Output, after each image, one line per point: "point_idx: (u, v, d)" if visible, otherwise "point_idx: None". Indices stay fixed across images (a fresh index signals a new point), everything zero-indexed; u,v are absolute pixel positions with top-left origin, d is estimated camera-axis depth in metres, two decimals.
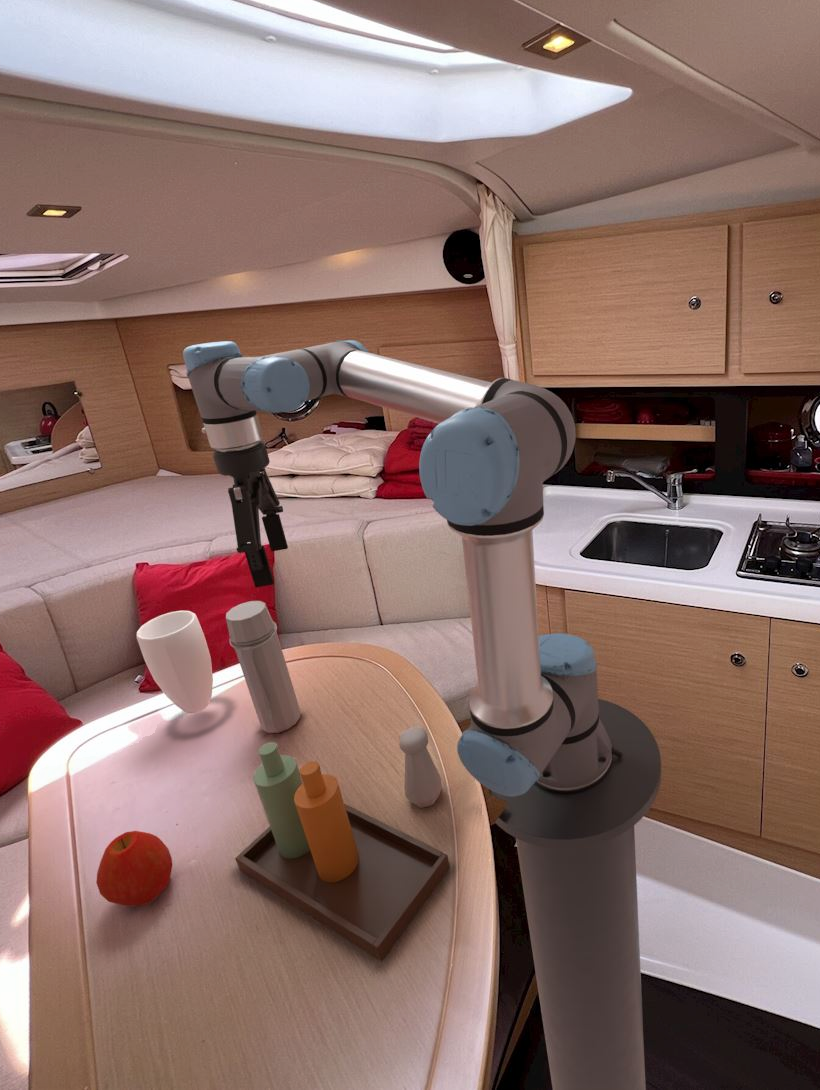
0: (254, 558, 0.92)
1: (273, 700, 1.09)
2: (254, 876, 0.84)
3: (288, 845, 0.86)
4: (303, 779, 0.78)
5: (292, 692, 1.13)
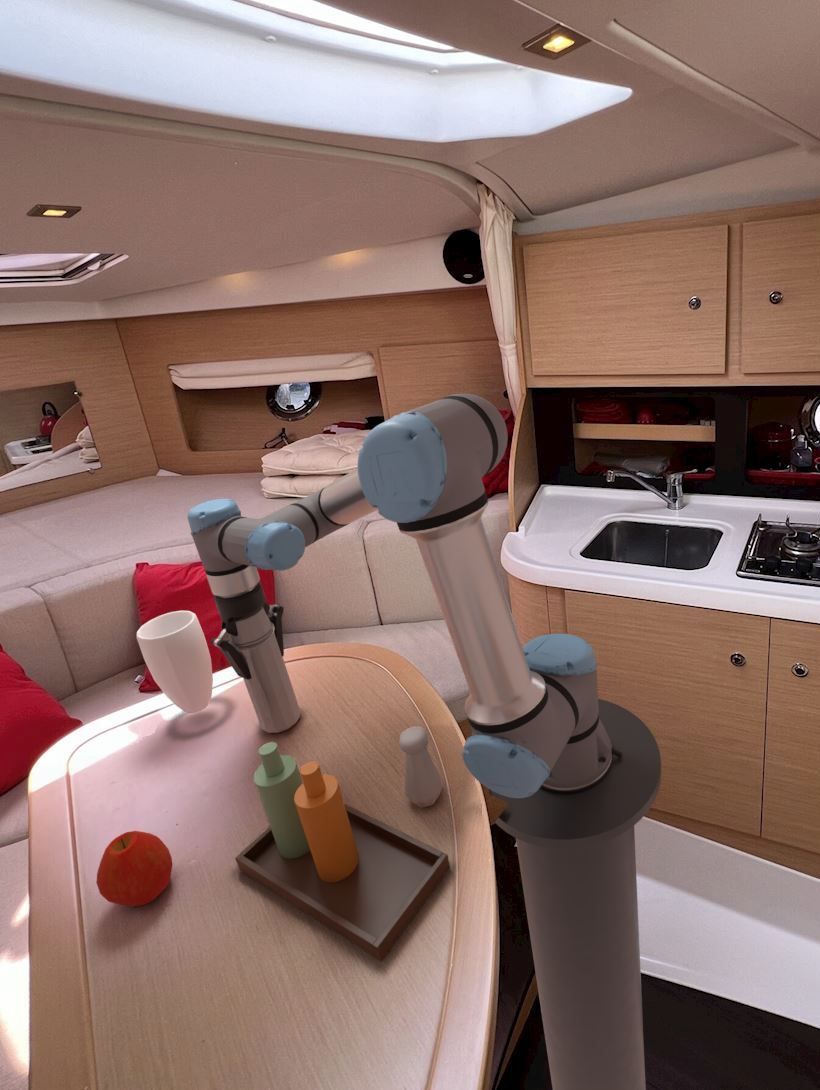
0: None
1: (273, 700, 1.09)
2: (254, 876, 0.84)
3: (288, 845, 0.86)
4: (303, 779, 0.78)
5: (291, 692, 1.13)
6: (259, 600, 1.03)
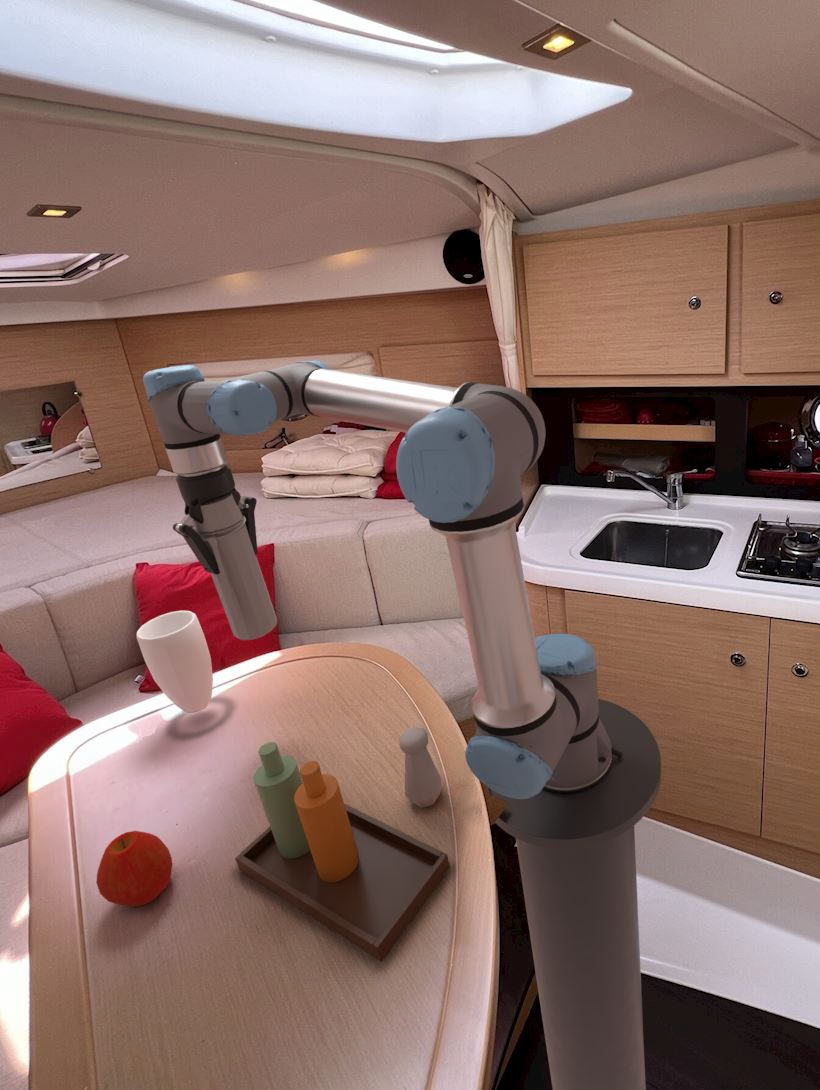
0: None
1: (244, 601, 0.99)
2: (254, 876, 0.84)
3: (288, 845, 0.86)
4: (303, 779, 0.78)
5: (266, 595, 1.02)
6: (227, 483, 0.93)
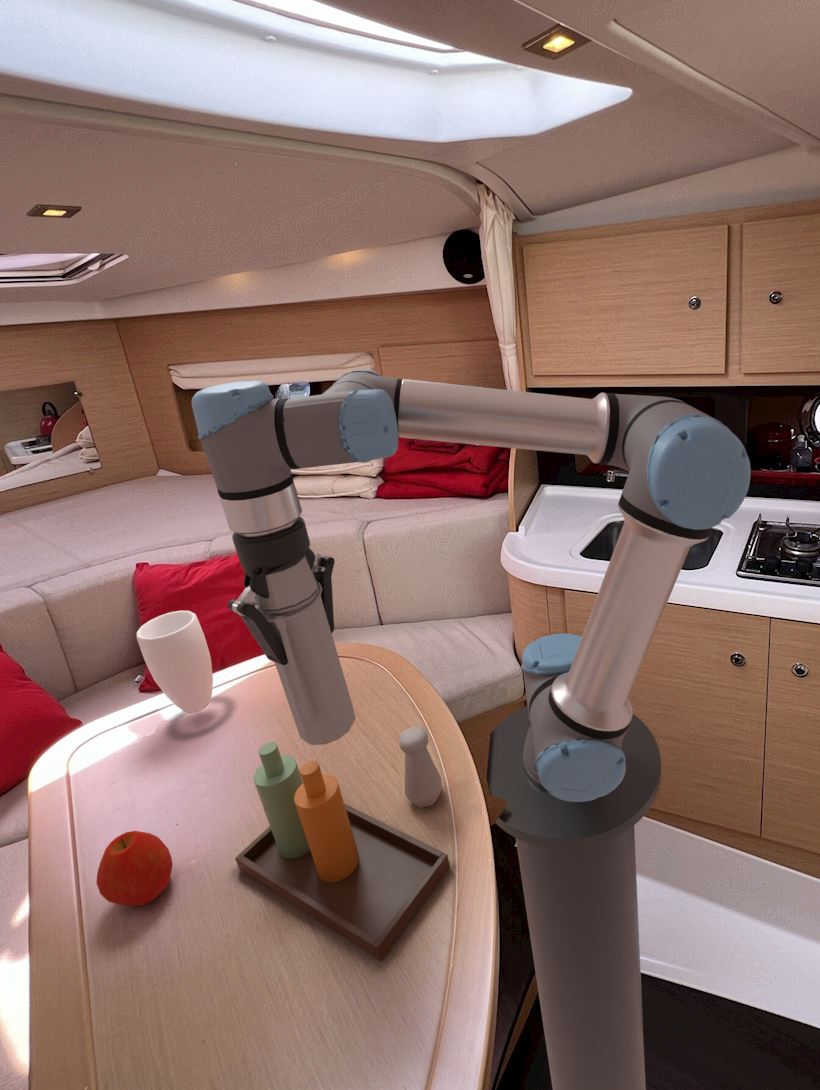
0: None
1: (318, 697, 0.73)
2: (254, 876, 0.84)
3: (288, 845, 0.86)
4: (303, 779, 0.78)
5: (344, 685, 0.77)
6: (301, 543, 0.67)
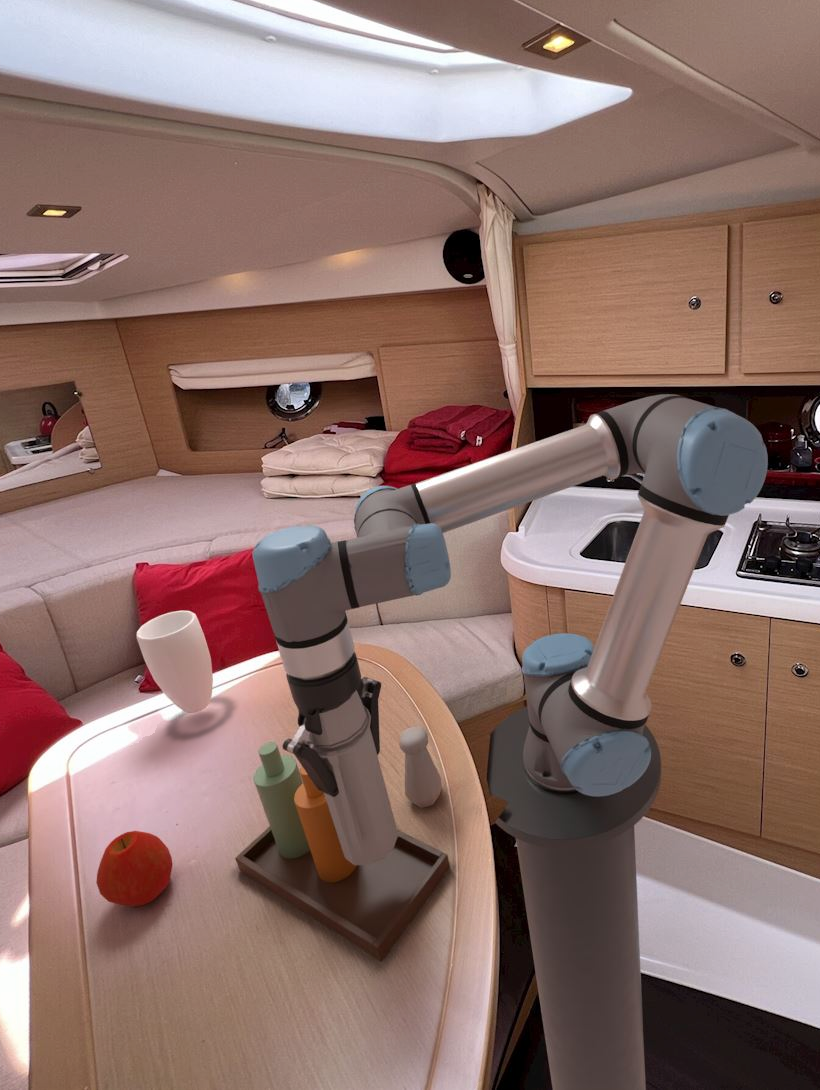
0: None
1: (366, 822, 0.74)
2: (254, 876, 0.84)
3: (288, 845, 0.86)
4: (303, 779, 0.78)
5: (389, 805, 0.77)
6: (355, 680, 0.67)
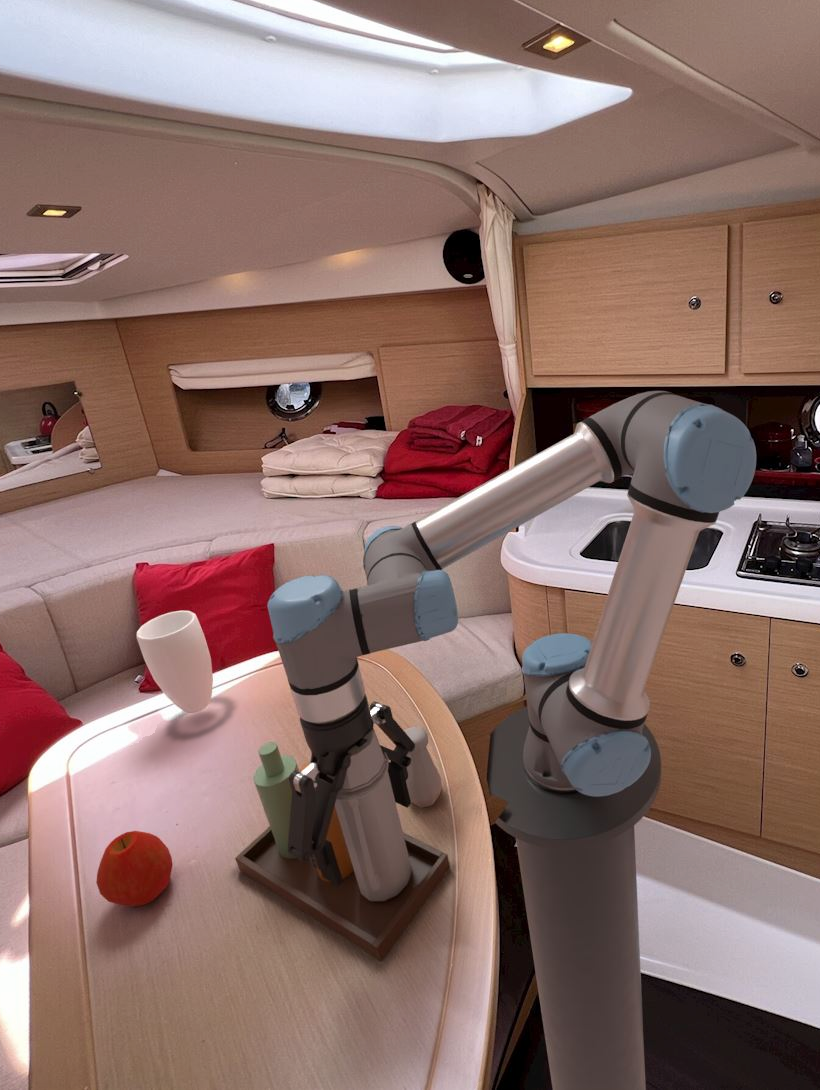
0: (313, 858, 0.70)
1: (382, 860, 0.77)
2: (254, 876, 0.84)
3: None
4: None
5: (404, 843, 0.80)
6: (365, 722, 0.70)
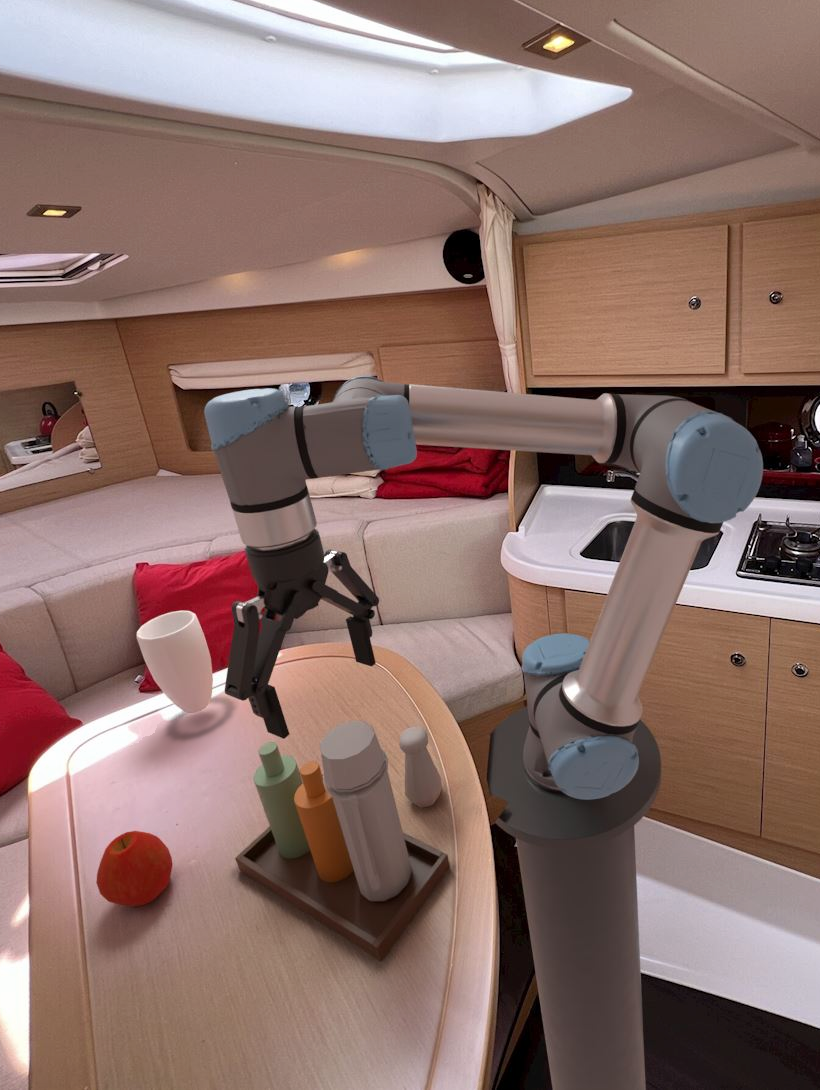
0: (254, 703, 0.64)
1: (382, 860, 0.77)
2: (254, 876, 0.84)
3: (288, 845, 0.86)
4: (303, 779, 0.78)
5: (403, 842, 0.80)
6: (317, 556, 0.65)
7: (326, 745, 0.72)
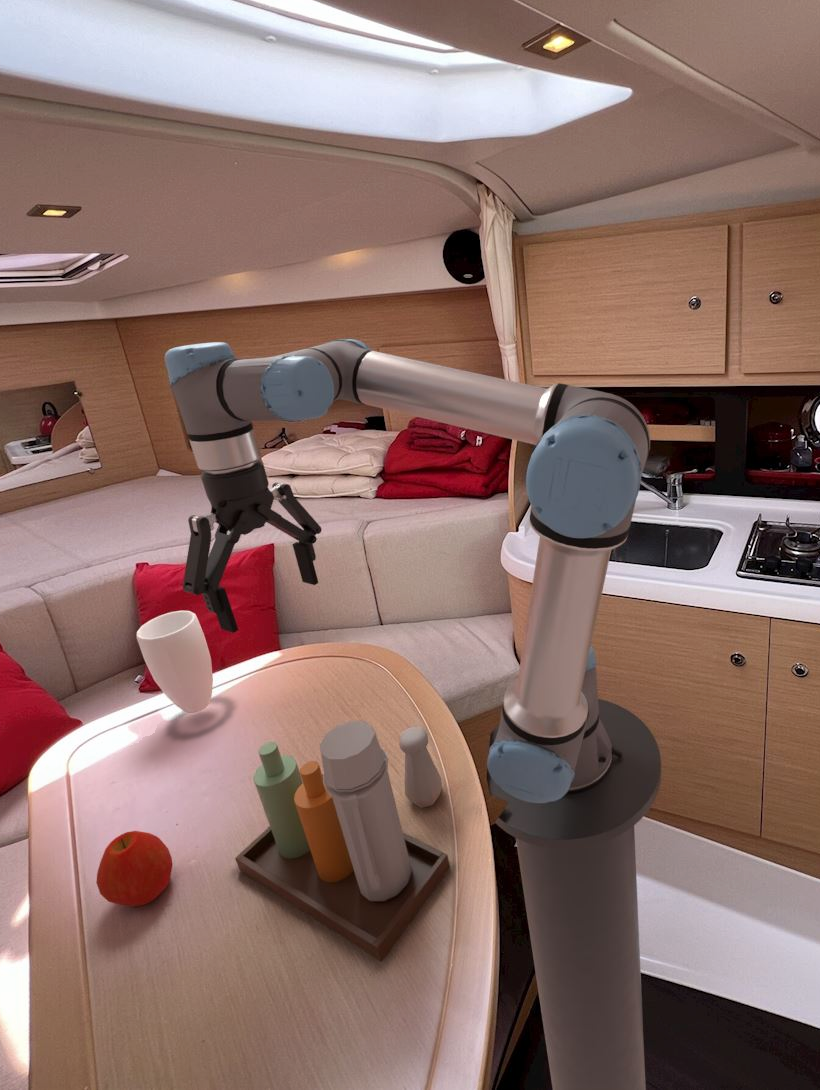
0: (207, 600, 0.78)
1: (382, 860, 0.77)
2: (254, 876, 0.84)
3: (288, 845, 0.86)
4: (303, 779, 0.78)
5: (403, 842, 0.80)
6: (260, 481, 0.79)
7: (326, 745, 0.72)
